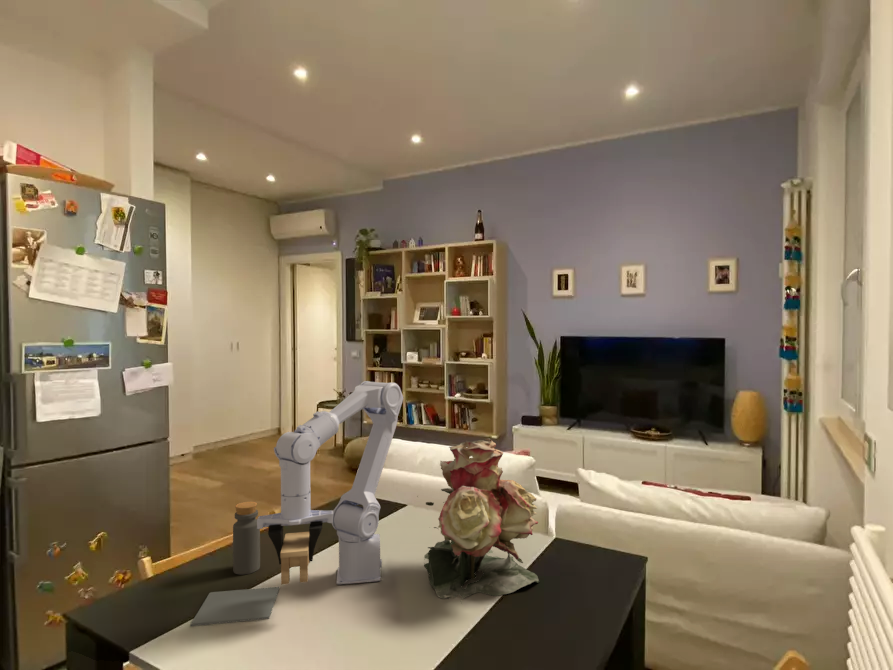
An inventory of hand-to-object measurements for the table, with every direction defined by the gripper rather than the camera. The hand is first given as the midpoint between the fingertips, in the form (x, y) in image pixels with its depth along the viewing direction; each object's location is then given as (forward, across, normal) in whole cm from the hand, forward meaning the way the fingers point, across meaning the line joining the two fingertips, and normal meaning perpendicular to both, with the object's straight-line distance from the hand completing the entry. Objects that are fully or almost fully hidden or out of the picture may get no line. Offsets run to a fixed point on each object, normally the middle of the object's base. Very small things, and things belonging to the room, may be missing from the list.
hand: (296, 560), depth 102 cm
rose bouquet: (+9, +40, +6) cm, 42 cm away
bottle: (+9, -13, +20) cm, 25 cm away
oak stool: (+2, 0, 0) cm, 2 cm away
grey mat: (+9, -12, +2) cm, 15 cm away
